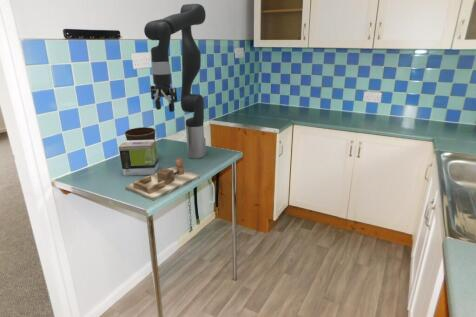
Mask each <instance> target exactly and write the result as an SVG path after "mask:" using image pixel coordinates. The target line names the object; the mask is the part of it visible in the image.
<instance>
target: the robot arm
mask: <svg viewBox="0 0 476 317" xmlns="http://www.w3.org/2000/svg"><path fill="white" fill-rule="evenodd" d="M206 13H207V12H206V9H205V7H204V6H203V5H201V4H200V3H188V4H183V5H182V6H181V8H180V10H179V13H175V14H171V15H168V16H166V17H164V18H160V19H155V20H151V21H148V22H147V23H146V24H145V25H144V28H143V32H144V35H145V37H146V38H147V39H148V40H151V41H158V44H157V45H156V46H153V47H151V48H150V55H151V56H150V57H151V73H152V81H153V85H150V98H151V100H153V101H154V104H155V109H156V110H161V109H162V103H161V100H162V98H165V100H166V101H167V102H168V110H169V113H172V112H175V103H177V102H178V93H177V88H176V87H171V84H172V74H171V72H172V71H171V65H170V56H169V48H170V43H171V38H172V35H174V34H176V33H178V32H179V31H181V67H182V68H181V72H182V73H181V74H182V75H181V77H182V78H181V80H182V81H181V94H180V107H181V110H182V111H183V112H185V113H193V116H192V117H189V118H187V119H186V120H185V133H186V147H187V157H188V158H190V159H195V160H196V159H201V158H204V157H205V156H206V155H207V144H206V142H207V141H206V137H205V130H204V129H205V127H204V119H205V111H204V110H205V101H204V100H205V99H204V97H203V96H202V95H201V94H195V93H191V92H192V91H191V90H192V85H193V83H194V80H196V77H197V75H198V74H199V72H200V69H201V66H202V65H201V62H202V60H201V59H202V58H201V56H202V54H201V50H200V49H199V47H198V45H197V43H196V42H195V39H194V36H193V34H192V33H193V32H192V26H199V25H202V24H204V23H205V20H206V15H207V14H206Z"/></svg>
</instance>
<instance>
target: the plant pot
mask: <svg viewBox="0 0 476 317" xmlns="http://www.w3.org/2000/svg"><path fill="white" fill-rule="evenodd" d="M124 136H125V139H126V140H156V129H155V128H153V127H147V126H143V127H133V128H130V129H127V130H126V131H125V132H124Z"/></svg>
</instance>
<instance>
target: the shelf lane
mask: <svg viewBox="0 0 476 317" xmlns="http://www.w3.org/2000/svg"><path fill="white" fill-rule="evenodd" d="M167 169H171V170H174V172H176V171H177V167H175V166H171V167H168V168H167ZM200 177H201V174H197V173H195V172H191V171H187V170H185V169H184V174H182V175H178V174H176V175H174V181H173V182H171V183H169V184H168V185H166V183H165V181H161V182H159V183H158V177H157V172H156V173H155V174H154V175H146V176H145V177H142V178H140V179H138V180H135V181H133V182H132V183H130V184H128V185H125V187H124V188H125V190H127V191H130V192H131V193H135V194H136V195H139V196H142V197H143V198H146V199H148V200H151V201H156V200H157V199H159V198H161V197H164V196H166V195H167V194H169V193H171V192H174V191H175V190H177V189H180V188H182V187H184V186H186V185H188V184H190V183H192V182H194V181H196V180H197V179H200Z"/></svg>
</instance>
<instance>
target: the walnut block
mask: <svg viewBox="0 0 476 317" xmlns="http://www.w3.org/2000/svg"><path fill="white" fill-rule="evenodd" d="M175 165H176V168H177V171H176V172H174V170H171V169H168V168H167V167H166V168H162V169H160V170H157V171H156V173H157V177H158V183H159V182H161V181H165V183H166V185H168V184H169V183H171V182H173V181H174V175H176V174H178V175H182V174H184V170H185V168H184V167H185V166H184V159H183V158H182V157H177V158H176V159H175Z"/></svg>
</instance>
